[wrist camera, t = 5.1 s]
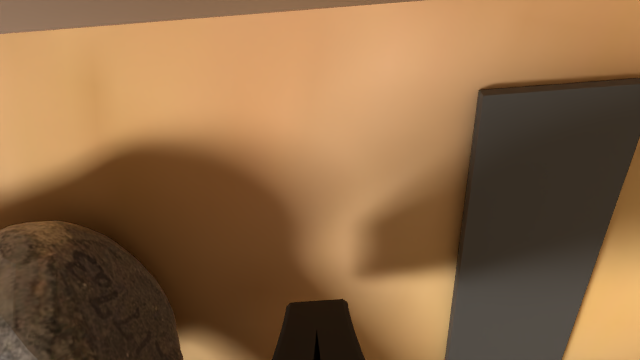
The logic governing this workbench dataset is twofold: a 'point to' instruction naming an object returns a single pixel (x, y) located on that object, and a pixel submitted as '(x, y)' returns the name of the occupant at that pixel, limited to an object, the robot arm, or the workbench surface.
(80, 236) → the pipe
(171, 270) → the workbench surface
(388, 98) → the workbench surface
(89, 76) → the workbench surface
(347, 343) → the robot arm
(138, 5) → the brown wooden board
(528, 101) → the strip
